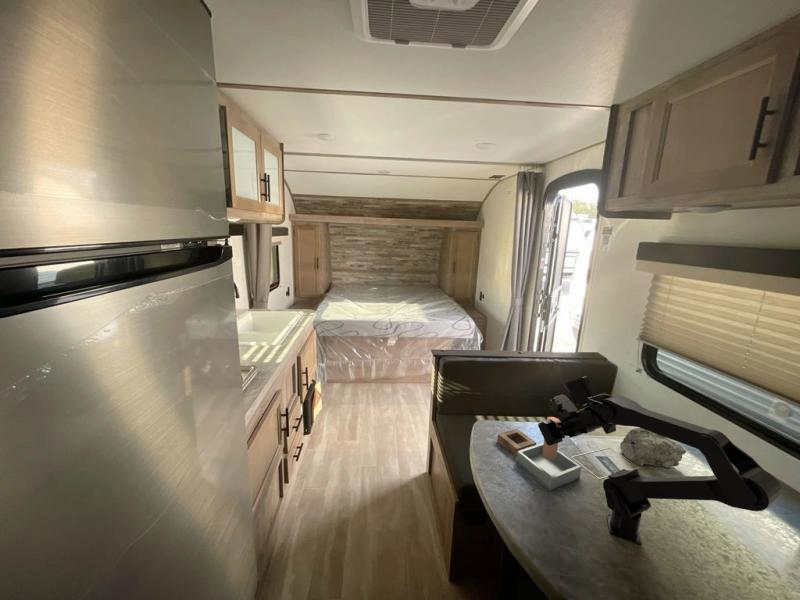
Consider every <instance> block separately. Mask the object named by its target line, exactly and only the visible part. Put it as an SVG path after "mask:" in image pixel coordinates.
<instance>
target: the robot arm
mask: <svg viewBox="0 0 800 600" xmlns="http://www.w3.org/2000/svg"><path fill="white" fill-rule="evenodd" d="M563 386H564V387H565V389H566V390H567V393H568V395H569V396H570V398H571V400H572V401H571V400H570V399H569V397H568V396H567V395H565V394H560V395H556V396H555V395H554V397H552V398H551V399H549V400H548V402H549V403H548V407H549V408H550V410H551V411H552V413H553V412H554V413H557V414H558V415H559V416H557V419H559V421H561V422H558V423H557V425H558V426H557V425H556V423H555V422H554V421H553V420H551V419H550V420H547V419H546V420H544V421H541V422H539V423H538V424H537V427H538V429H539V431H540V433H541V435H542V437H543V440H544V439H545V441H546V444H547V445H549V446H550V445H553V444H556V443H558V444H559V443H562V442H563V439H565V438H566V437H569V439H571V438H573V437H575V438H576V437H578V436H581V435H583V434H589V433H592V432H596V430H597V429H601V428H602V429H603V431H604V433H605V434H606V435H609V434H611V433H614V432H616V431H617V426H616V425H619V426H624V427H635V428H642V429H645V430H647V431H650V432H653V433H656V434H658V435H661V436H664V437H666V438H669V439H671V440H673V441H674V442H676V443H677V442H678V443H680V444H682V445H686V446H688V447H691V448H693V449H697V450H699V451H700V453H701V454H702V455H703V457H705V460H706V462H707V463H708V466H709V468H710V469H711V471H712V473H713V475H697V476H696V475H694V476H659V477H658V476H654V477H650V476H649V477H646V476H643V475H641V474H640V473H639V470H638V469H634V468H632V469H633V470H630V469H625V468H622V469H620V470H617V471H616V472H613V473H611V474H609V475H607V476H608V477H606V478H604V480H603V484H602V488H603V490H604V494H605V495H604V496H605V499H606V501H605V502H606V505H607V508H608V509H610V510H611V514H609V513H606V520H607V525H608V530H609V533H610V535H611V536H613V537H616V538H619V539H622V540H625V541H628V542H631V543H634V544H636V545H639V546H641V545H642V546H643V541H642V538H641V534H640V531H639V529H640V525H641V520H642V513H643V512H645V511H648V510H649V509H650V508H651V507H652V503H650V501H649V499H650V500H686V501H687V500H688V501H689V500H690V501H715V502H719V503H722V504H724V505H726V506H728V507H731V508H736V509H740V510H745V511H751V512H763V511H765V510H766V509H768V508H769V507H770V506H771V505H773V504H774V503H776V502H777V501H778V500H779V499H780V498H781V497H782V495H783V487H782V485H781V484H780V482H779V481H778V480H777V478H776V477H775V476H773V475H772V474H771V473H770V472H768V471H766V470H764V468H763V467H762V466H761V465H760V464H759V463H758V462H757V461H756V459H754V458H753V457H752V456H750V455H749V454H748V453H747V452H745V451H744V450H743V449H741V448H739V447H738V445H737V446H736V445H735V443H733V442H732V440H730V439H729V438H728V436H726V434H724V433H723V432H722V431H719V430H716V429H712V428H706V427H703V426H700V425H697V424H694V423H691V422H687V421H684V420H681V419H678V418H675V417H672V416H668V415H665V414H662V413H659V412H657V411H652V410H649V409H647V408H645V407H643V406H642V405H641V404H639V403H638V402H636V401H635V400H633V399H630V398H628V397H626V396H623V395H615V396H613V395H611V394H607V393H605V392H603V393H600V394H598V393H597V392H596V390H595V389H594V386H593V385H592V383H591V381H590V379H589V377H588V376H582V377H579V378H577V379H574V380H570V381H568V382H566V383H564V384H563ZM586 405H587V406H586ZM576 406H580V407H584V406H586V407H584V408H579V409H578V408H577V407H576ZM559 426H561V427H559ZM734 467H735V468H734Z"/></svg>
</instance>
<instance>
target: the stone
mask: <svg viewBox="0 0 800 600" xmlns="http://www.w3.org/2000/svg"><path fill="white" fill-rule="evenodd" d="M619 448H620V450H621V453H623V456H624V457H625V458H626V459H628V460H630V461H631V462H633V463H634V464H636V465H637V466H639V467H643V466H644V465H651V466H652V467H663V468H671V467H678V466H679V465H680V462H681V461H682V458H683V455H685V454H686V452H687V450H686V449H685V448H684V446H682V445H680V444H679V442H678V443H677V441H675V440H672V439H669V438H666V437H664V436H661V435H658V434H656V433H653V432H650V431H647V430H645V429H642V428H639V427H635V428H632V429H630V430H629V431H628V432H627V434H626V435H625V437H624V438H623V439H622V441H621V442H620V445H619Z"/></svg>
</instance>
